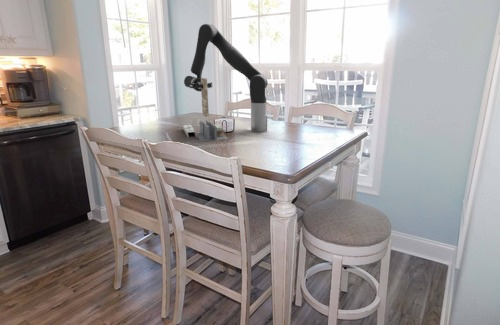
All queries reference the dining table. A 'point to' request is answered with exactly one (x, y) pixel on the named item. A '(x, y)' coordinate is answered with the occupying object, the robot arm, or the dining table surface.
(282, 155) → the dining table surface
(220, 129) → the offcut
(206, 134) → the rack
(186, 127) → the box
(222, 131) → the offcut
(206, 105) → the brown wooden board
